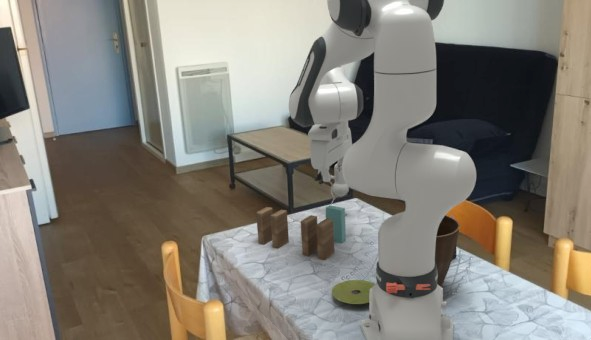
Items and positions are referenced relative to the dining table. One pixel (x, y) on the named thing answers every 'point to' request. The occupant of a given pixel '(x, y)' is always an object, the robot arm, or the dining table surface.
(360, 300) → the green disc
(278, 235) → the walnut tile
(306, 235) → the walnut tile
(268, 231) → the walnut tile
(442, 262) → the plant pot
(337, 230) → the teal tile
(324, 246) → the walnut tile
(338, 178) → the clip-on lamp
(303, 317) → the dining table surface
